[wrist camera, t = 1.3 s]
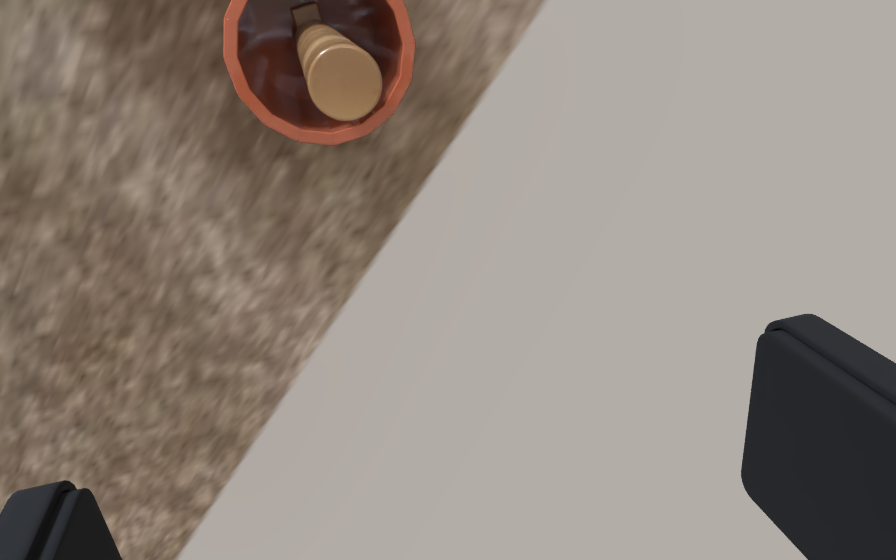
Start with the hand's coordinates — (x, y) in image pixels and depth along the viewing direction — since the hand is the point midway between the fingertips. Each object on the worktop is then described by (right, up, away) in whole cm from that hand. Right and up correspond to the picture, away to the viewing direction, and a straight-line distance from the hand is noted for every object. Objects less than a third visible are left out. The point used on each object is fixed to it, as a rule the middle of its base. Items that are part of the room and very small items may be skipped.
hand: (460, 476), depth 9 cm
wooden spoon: (-7, +15, +22) cm, 28 cm away
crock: (-7, +15, +23) cm, 28 cm away
